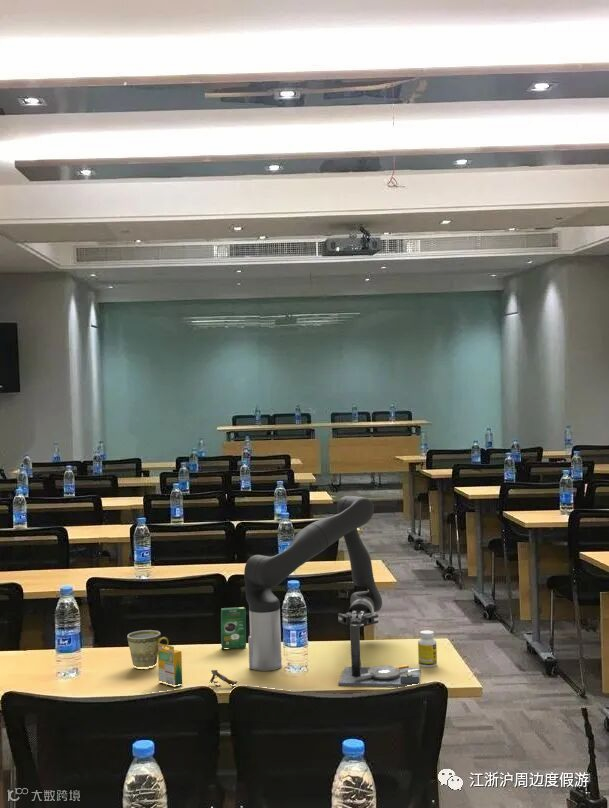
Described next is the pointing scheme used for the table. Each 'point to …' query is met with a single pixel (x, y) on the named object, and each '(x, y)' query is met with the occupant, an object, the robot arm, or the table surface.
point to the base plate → (405, 678)
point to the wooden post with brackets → (221, 678)
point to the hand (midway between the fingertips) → (355, 624)
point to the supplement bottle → (427, 649)
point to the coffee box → (233, 627)
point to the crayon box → (169, 664)
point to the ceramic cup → (144, 647)
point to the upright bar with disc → (373, 672)
